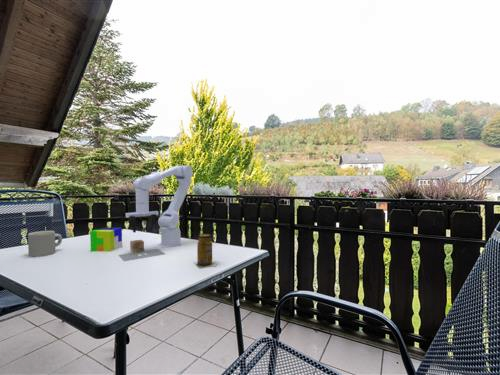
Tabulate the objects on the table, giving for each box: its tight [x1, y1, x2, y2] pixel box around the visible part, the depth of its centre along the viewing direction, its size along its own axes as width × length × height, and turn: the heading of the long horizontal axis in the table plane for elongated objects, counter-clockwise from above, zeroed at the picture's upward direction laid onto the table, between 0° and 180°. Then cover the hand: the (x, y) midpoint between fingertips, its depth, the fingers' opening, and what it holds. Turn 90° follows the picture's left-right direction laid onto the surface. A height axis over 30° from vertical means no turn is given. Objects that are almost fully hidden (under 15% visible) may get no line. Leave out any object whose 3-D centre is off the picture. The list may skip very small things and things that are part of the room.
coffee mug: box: [27, 230, 63, 258], centre depth 127 cm, size 13×10×10 cm
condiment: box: [193, 233, 217, 269], centre depth 111 cm, size 7×8×12 cm
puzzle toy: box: [89, 226, 123, 253], centre depth 134 cm, size 10×10×10 cm
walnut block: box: [129, 239, 145, 253], centre depth 131 cm, size 5×5×5 cm
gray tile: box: [118, 248, 166, 262], centre depth 124 cm, size 18×12×1 cm, turn 127°
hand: (142, 231), depth 129 cm, fingers open, 7 cm apart
